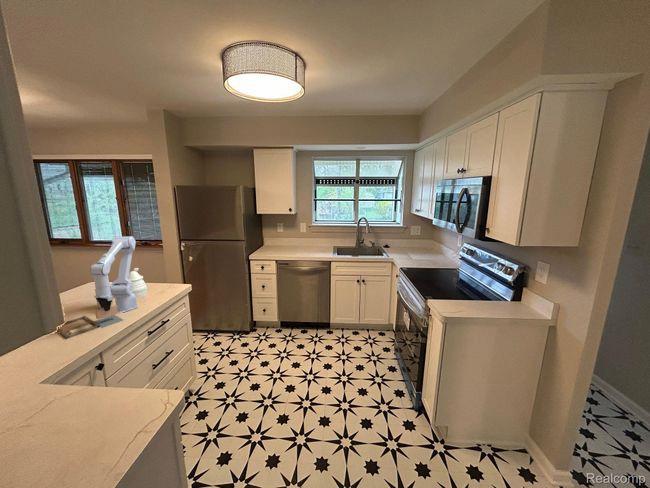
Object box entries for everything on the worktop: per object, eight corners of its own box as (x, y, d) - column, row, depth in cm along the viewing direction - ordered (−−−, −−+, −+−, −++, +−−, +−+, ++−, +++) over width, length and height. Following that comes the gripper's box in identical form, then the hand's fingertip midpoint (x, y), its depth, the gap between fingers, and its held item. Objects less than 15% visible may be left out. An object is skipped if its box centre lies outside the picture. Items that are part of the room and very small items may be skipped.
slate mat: (114, 315, 150) (113, 314, 150) (124, 320, 144) (124, 320, 144) (92, 322, 142) (91, 321, 142) (102, 328, 136) (101, 328, 136)
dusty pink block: (116, 312, 147) (115, 304, 146) (118, 313, 146) (117, 305, 145) (96, 318, 139) (95, 310, 138) (97, 319, 138) (96, 311, 137)
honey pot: (145, 289, 188) (142, 265, 184) (149, 294, 179) (145, 269, 175) (123, 293, 180) (119, 268, 176) (125, 299, 170) (121, 273, 167)
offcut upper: (89, 325, 137) (89, 323, 137) (92, 327, 136) (92, 325, 136) (69, 333, 131) (69, 330, 130) (72, 335, 129) (72, 332, 129)
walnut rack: (85, 318, 146) (84, 315, 146) (100, 327, 137) (99, 325, 137) (52, 328, 135) (52, 325, 135) (67, 339, 126) (66, 336, 126)
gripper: (87, 285, 139) (91, 309, 142) (99, 291, 132) (103, 316, 135) (103, 281, 145) (107, 304, 148) (115, 287, 138) (119, 311, 141)
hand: (106, 310), depth 142 cm, fingers closed on dusty pink block, 2 cm apart
